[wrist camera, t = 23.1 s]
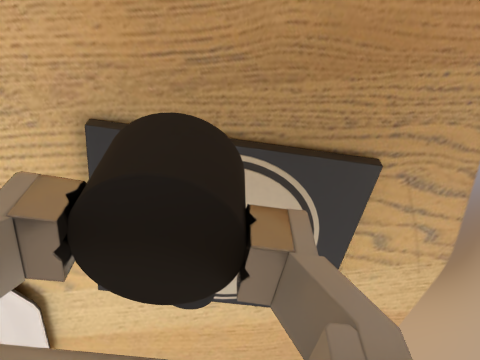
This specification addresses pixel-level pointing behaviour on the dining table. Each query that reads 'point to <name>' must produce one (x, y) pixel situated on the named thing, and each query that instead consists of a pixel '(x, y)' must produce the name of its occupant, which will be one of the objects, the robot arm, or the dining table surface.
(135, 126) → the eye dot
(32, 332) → the plate
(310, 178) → the board
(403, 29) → the dining table surface
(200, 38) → the dining table surface
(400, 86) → the dining table surface
